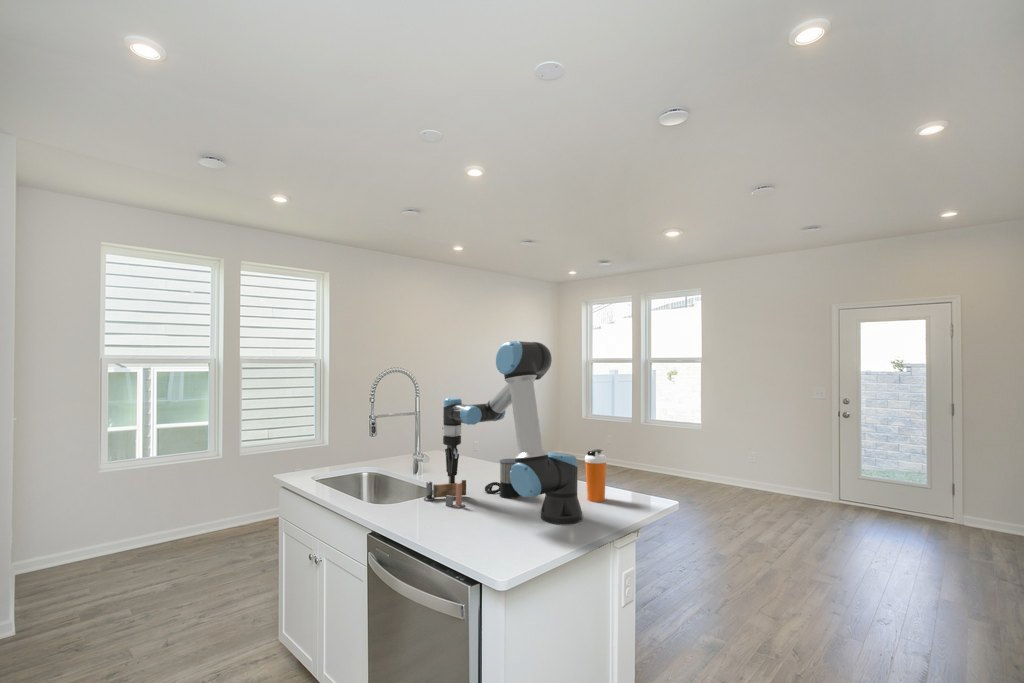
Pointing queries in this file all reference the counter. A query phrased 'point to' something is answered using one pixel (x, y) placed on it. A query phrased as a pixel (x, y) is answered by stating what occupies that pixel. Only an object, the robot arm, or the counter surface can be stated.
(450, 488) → the gate
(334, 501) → the counter surface
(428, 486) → the hinge post
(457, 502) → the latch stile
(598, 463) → the shaker bottle
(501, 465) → the corded kitchen appliance
